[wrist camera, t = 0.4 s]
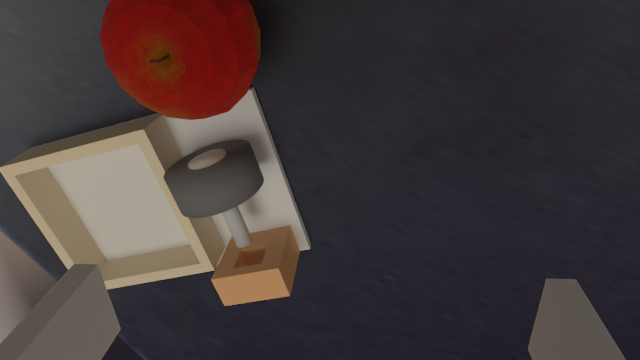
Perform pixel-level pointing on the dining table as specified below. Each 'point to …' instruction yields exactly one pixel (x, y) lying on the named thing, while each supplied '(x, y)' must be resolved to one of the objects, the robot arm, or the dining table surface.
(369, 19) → the dining table surface
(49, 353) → the robot arm
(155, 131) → the chassis
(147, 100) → the apple
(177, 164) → the wheel
